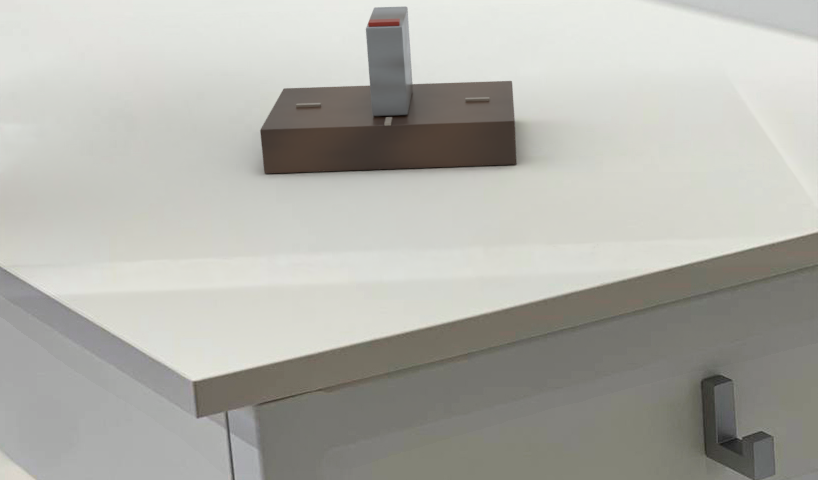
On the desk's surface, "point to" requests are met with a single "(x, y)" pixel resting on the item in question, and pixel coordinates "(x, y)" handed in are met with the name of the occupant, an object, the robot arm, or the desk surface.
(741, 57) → the desk surface
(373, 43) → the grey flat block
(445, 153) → the panel
